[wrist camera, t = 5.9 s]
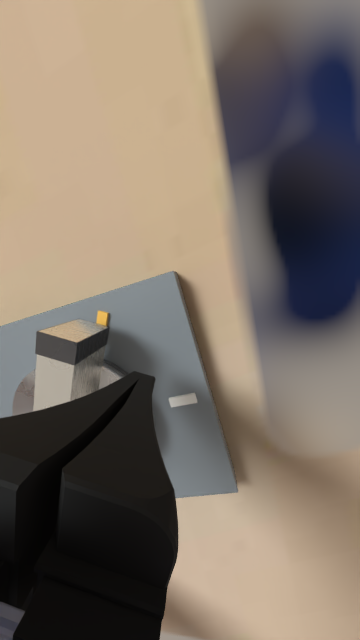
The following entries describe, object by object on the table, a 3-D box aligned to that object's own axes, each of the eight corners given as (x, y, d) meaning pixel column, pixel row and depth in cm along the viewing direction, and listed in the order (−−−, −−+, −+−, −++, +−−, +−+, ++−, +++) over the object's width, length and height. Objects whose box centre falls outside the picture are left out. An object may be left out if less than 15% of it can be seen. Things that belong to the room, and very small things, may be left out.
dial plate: (234, 473, 16) (238, 495, 14) (48, 493, 19) (33, 513, 18) (176, 272, 13) (172, 270, 11) (-33, 338, 16) (-59, 344, 15)
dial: (179, 340, 12) (167, 369, 8) (140, 489, 16) (117, 563, 12) (32, 299, 13) (-46, 307, 9) (23, 449, 16) (-37, 507, 12)
